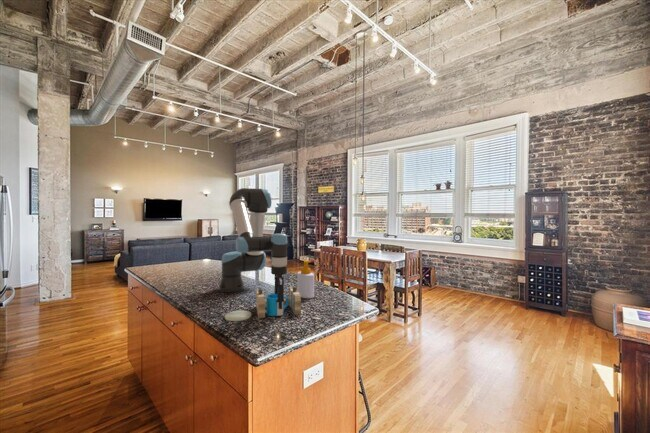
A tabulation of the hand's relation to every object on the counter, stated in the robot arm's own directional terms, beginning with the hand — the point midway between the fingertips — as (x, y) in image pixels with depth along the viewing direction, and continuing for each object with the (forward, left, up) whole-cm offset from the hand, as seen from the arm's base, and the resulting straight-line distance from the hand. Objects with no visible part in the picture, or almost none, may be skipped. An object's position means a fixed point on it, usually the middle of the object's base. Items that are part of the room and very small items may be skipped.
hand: (278, 311), depth 143 cm
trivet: (0, -19, 0) cm, 19 cm away
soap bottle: (-25, +19, -1) cm, 31 cm away
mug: (-1, 0, 0) cm, 1 cm away
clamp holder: (-4, 0, 0) cm, 4 cm away
